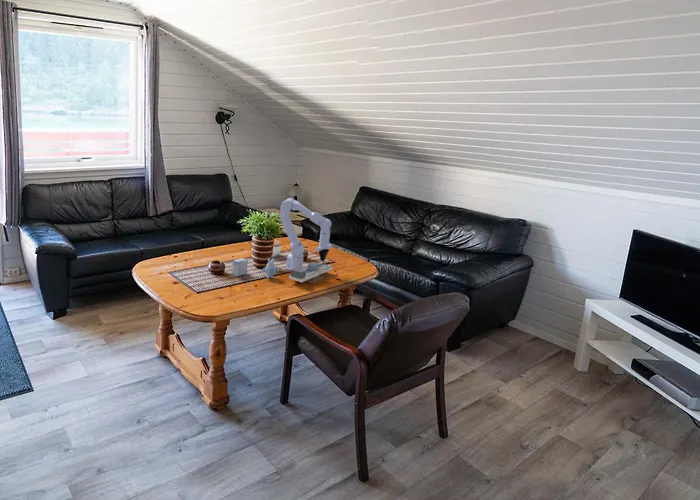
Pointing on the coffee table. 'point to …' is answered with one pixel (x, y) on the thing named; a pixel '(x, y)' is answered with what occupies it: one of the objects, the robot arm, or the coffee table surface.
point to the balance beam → (309, 273)
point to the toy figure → (270, 268)
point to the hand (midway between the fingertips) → (322, 260)
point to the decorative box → (276, 247)
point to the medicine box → (239, 267)
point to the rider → (313, 266)
